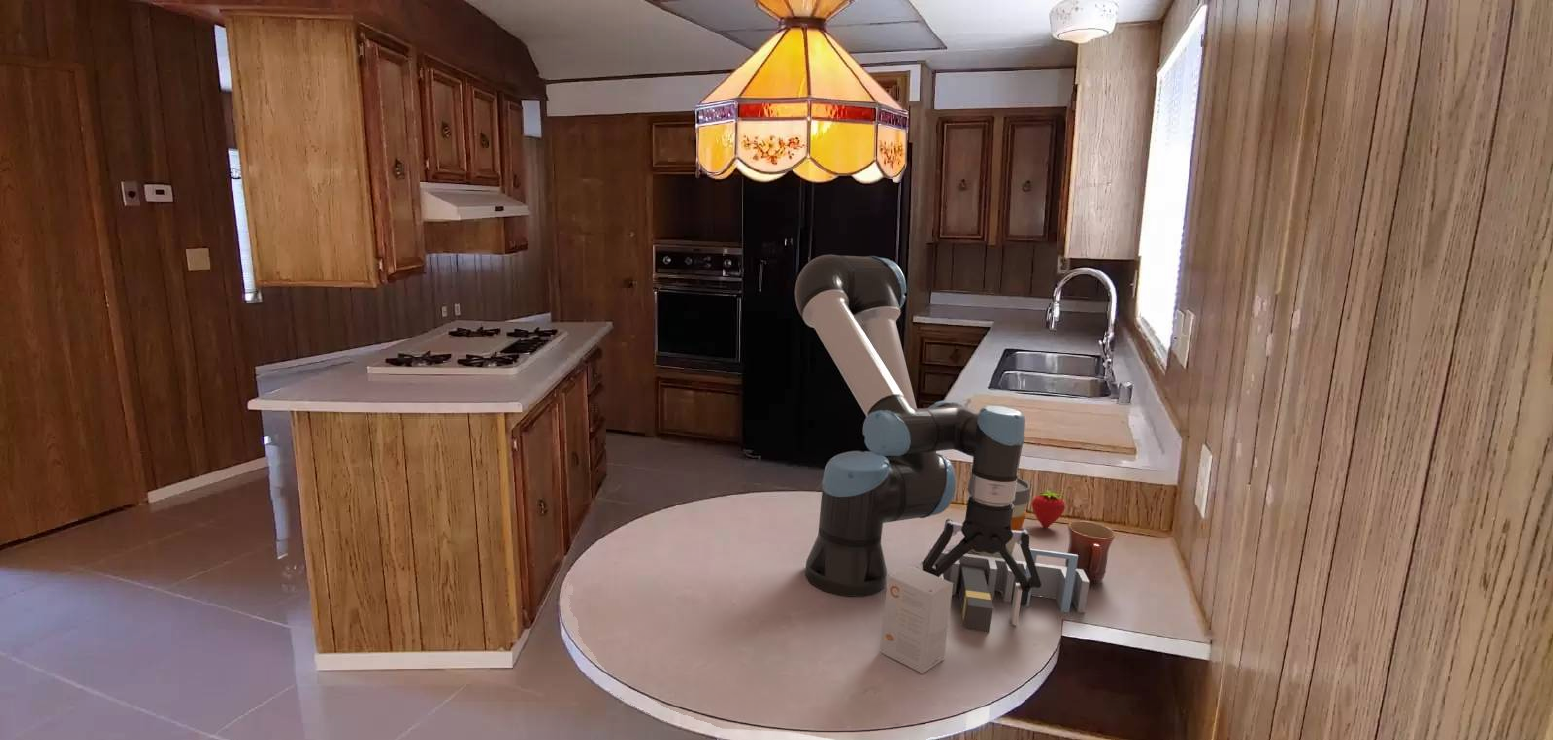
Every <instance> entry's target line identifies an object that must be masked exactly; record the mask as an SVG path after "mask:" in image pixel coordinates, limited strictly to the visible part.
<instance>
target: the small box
mask: <svg viewBox="0 0 1553 740" xmlns="http://www.w3.org/2000/svg"><path fill="white" fill-rule="evenodd" d="M952 590H953V583H952V582H949V581H947V580H944V579H942V578H940V577H937V576H935V575H932V574H930V573H927V572H925V571H923V569H920V568H917V567H915V566H914V565H908V566H906V567H904V568H902V569H900V570H898V571H896V572H893V573H891V574H890V575H888V576H887V585H886V592H885V593H886V594H885V602H884V612H883V613H884V614H883V620H882V629H881V638H880V649H879V653H881V654H883V655H885V656H887V657H889V658H891V659H893V660H895V661H896V662H897V663H898V662H899V663H900V664H902V665H904V666H906V667H907V668H908V667H909V668H910V669H912V670H915V671H916V672H918V673H920V675H921V674H922V675H923V674H924V673H926V672H928V671H929V670H930V669H932V668H934V667H935V666H936V665H938V664H939V663H941V662H942V661H944V660H945V656H946V654H945V653H946V648H947V646H946V645H947V639H948V631H949V624H950V623H949V620H950V614H951V608H952V607H951V606H952V597H953V594H952Z"/></svg>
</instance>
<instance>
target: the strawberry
mask: <svg viewBox="0 0 1553 740" xmlns="http://www.w3.org/2000/svg"><path fill="white" fill-rule="evenodd" d="M1050 487H1051V490H1052V492H1051V491H1050V490H1048V489H1047V490H1046V491H1045V492H1038V494H1039V495H1036V496H1035V497H1033V499H1032V502H1031V508H1032V512H1033V514H1034V516H1035V517H1036V519H1037V521H1038V522H1039V523H1040V524H1041V526H1042V528H1043V529H1044V528H1045V529H1048V528H1049V527H1051V526H1052V524H1054V523H1055V522H1057V521H1058V519H1059V518H1060V517H1061V516H1062V515H1063V513H1064V511H1065V508H1066V506H1065V501H1064V500H1063V499H1062V498H1061V497H1063V495H1062V494H1058V493H1054V489H1053V487H1052V485H1050Z"/></svg>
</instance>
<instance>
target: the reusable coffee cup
mask: <svg viewBox="0 0 1553 740" xmlns="http://www.w3.org/2000/svg"><path fill="white" fill-rule="evenodd" d="M970 479H971V475H970V477H969V479H968V480H969V481H968V485H967V492H968V497H969V496H970V494H969V486H970ZM1030 493H1031V485H1030V483H1029V482H1027V481H1026V480H1024V479H1022V478H1020V477H1018V478H1017V485H1016V493H1015V500H1014V501H1013V502H1012V504H1013V505H1014V507H1013V514H1012V521H1011V530H1016V531H1020V530H1021V529H1023V526H1024V523H1025V519H1026V515H1027V510H1026V509H1027V505H1028V503H1029V502H1030V499H1031V494H1030ZM1016 544H1017V542H1016V540H1015V539H1014V538H1012V539H1011V540H1010V541H1009V542H1008V543H1007V544H1006V547H1007V549H1008V550H1009V552H1010V553H1011V555H1012V556H1013V552H1014V549H1015V546H1016ZM970 551H972V552H973V553H975V554H976V555H979V556H987V557H994V558H1002V556H1001V555H1000V553H999V552H996V553H994V554H990V553H987V552H975V550H973V549H971V550H970ZM1002 559H1003V558H1002Z"/></svg>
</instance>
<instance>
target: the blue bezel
mask: <svg viewBox="0 0 1553 740" xmlns="http://www.w3.org/2000/svg"><path fill="white" fill-rule="evenodd" d="M1029 549H1030V552H1031V555H1032V558H1033V561H1034V564H1035V563H1037V562H1036V561H1037V557H1038V556H1042V557H1051V558H1058V559H1065V560H1066V559H1068V565H1067V571H1066V578H1065V584H1064V590H1063V596H1062V602H1061V608H1059V610H1060V612H1065V613H1070V607H1071V602H1072V601H1071V597H1072V591H1073V585H1074V579H1075V573H1076V567H1077V561H1078V555H1076V554H1068V553H1067V552H1060V551H1054V550H1053V551H1052V550H1051V551H1050V550H1044V549H1036V548H1030V547H1029ZM1025 576H1026V578H1030V577H1031V575H1030V572H1029V570H1028V567H1027V564H1026V570H1025ZM1031 589H1032V588H1030V591H1029V592H1028V598H1027V604H1026V606H1025V607H1028V606H1030V600H1031V597H1032V596H1031Z"/></svg>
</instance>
